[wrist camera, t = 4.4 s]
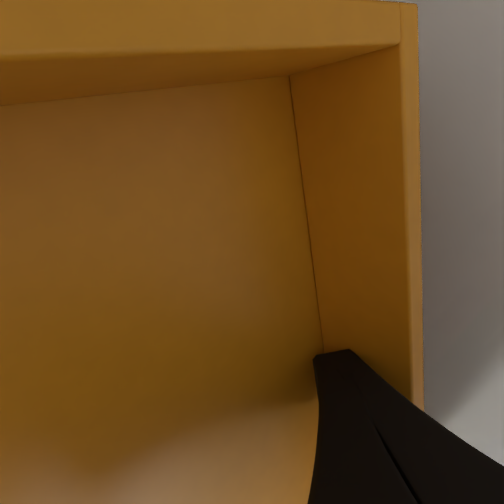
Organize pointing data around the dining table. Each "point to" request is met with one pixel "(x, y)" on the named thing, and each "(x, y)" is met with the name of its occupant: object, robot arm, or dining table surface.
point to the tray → (199, 239)
